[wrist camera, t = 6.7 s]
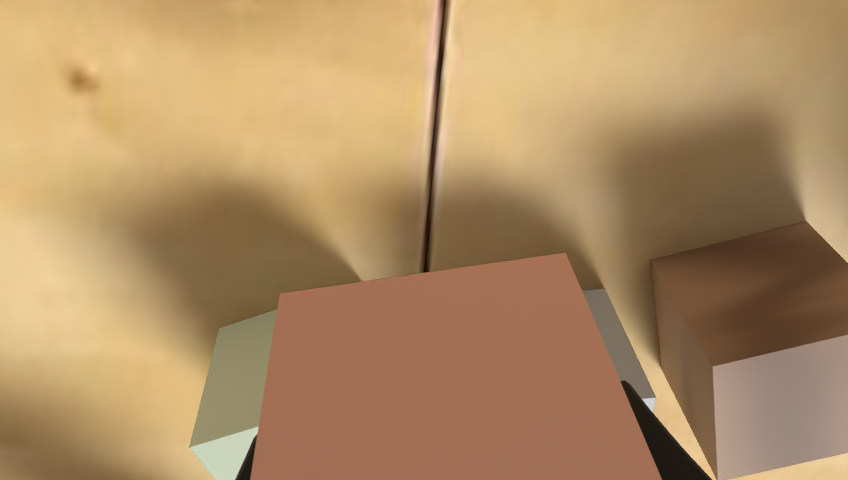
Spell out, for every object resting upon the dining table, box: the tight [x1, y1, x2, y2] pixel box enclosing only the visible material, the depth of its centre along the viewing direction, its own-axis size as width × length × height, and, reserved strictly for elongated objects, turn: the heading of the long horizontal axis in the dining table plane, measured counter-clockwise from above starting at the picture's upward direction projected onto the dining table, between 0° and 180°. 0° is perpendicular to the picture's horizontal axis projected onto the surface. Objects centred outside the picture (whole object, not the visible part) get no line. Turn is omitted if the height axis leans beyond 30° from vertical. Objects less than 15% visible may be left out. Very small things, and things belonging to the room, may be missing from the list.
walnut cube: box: [650, 221, 848, 480], centre depth 22 cm, size 5×5×5 cm
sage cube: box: [189, 309, 277, 480], centre depth 22 cm, size 5×5×5 cm
